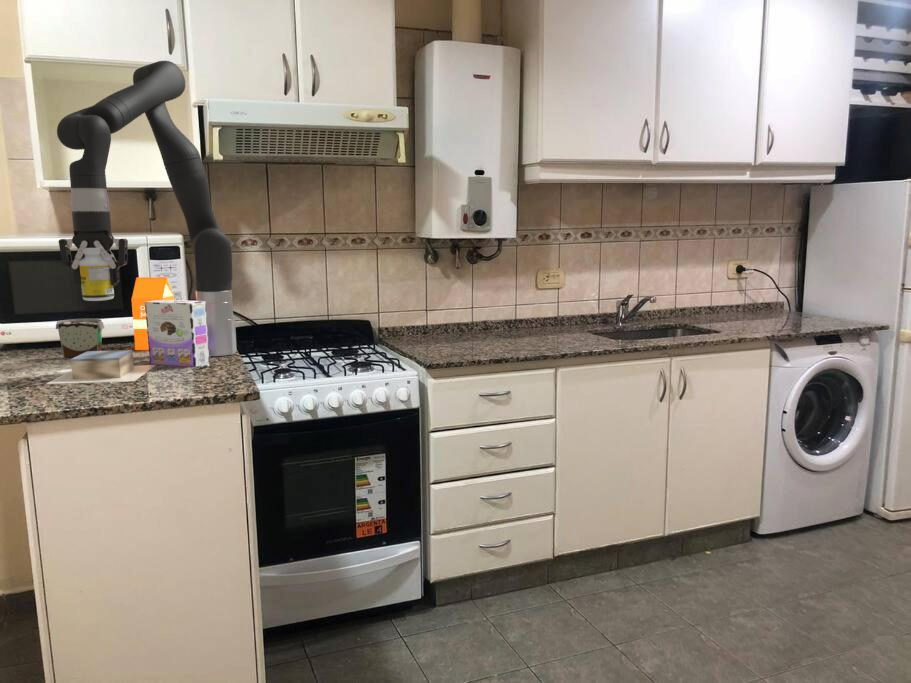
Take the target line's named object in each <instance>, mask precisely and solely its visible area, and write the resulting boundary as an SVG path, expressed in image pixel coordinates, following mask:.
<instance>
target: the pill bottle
mask: <svg viewBox="0 0 911 683" xmlns="http://www.w3.org/2000/svg"><path fill="white" fill-rule="evenodd" d="M102 251H103V250H102ZM84 254H85V255H84V256H85V257H84V259H82V260H81V261H80V263H79V266H80V276H81V286H80V288H81V296H82V299H83V300H84V301H88V302H90V301H91V302H98V301H100V302H101V301H109V300H113V299H114V297H115V290H114V286H111V279H110V269H111V267H110V266H109V264H108V262H107V261H106V260H105V259H104V258H103V256H102V255H101V253H100V248H84Z"/></svg>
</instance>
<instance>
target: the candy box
mask: <svg viewBox="0 0 911 683" xmlns="http://www.w3.org/2000/svg"><path fill="white" fill-rule="evenodd" d="M145 311H146V323H147V335H148V346H149V350H148V357H149V364H150V365H162V366H163V365H164V366H165V365H166V366H177V367H191V368H193V367H194V368H195V367H196V368H197V367H199V368H198V370H201V369H204V368H208V367H210V356H209V350H208V334H207V317H206V301H196V300H191V299H190V300H188V299H186V300H185V299H184V300H182V299H174V300H155V301H148V302H145Z"/></svg>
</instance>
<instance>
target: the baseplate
mask: <svg viewBox="0 0 911 683" xmlns="http://www.w3.org/2000/svg"><path fill="white" fill-rule="evenodd" d="M155 366H157V364H143V365H134V369H133V370H131V371H130V372H128V373H127V374H126V375H124V376H123V377H121V378H98V379H73V377H72V369H71V370H69V371H67V372H66V373H64V374H61V375H60V376H57V377H56V378H54V379H53V380H50V381H48V382H46V383H45V385H56V384H57V385H59V384H65V385H66V384H94V383H95V384H97V383H118V382H119V383H124V382H125V383H126V382H128V383H129V382H136V381H137V380H138V379H140V378H141V377H142V376H144V375H145V374H146V373H148V372H150V371H151V370H152V369H153V368H154V367H155Z"/></svg>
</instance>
